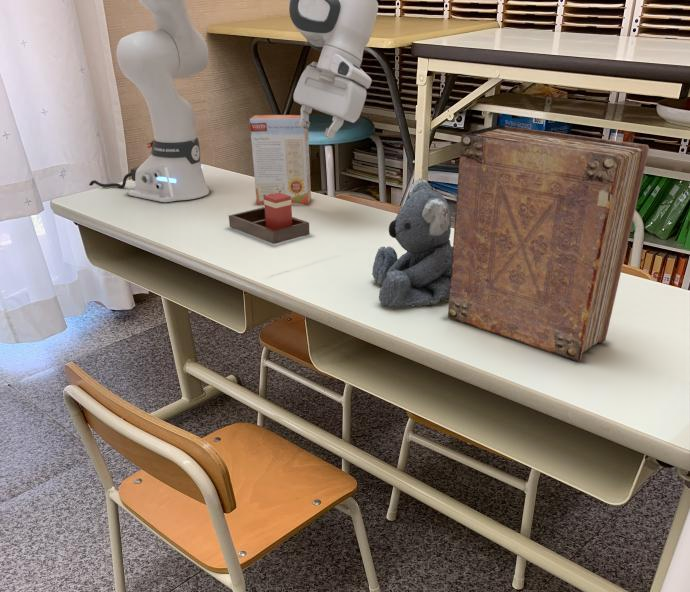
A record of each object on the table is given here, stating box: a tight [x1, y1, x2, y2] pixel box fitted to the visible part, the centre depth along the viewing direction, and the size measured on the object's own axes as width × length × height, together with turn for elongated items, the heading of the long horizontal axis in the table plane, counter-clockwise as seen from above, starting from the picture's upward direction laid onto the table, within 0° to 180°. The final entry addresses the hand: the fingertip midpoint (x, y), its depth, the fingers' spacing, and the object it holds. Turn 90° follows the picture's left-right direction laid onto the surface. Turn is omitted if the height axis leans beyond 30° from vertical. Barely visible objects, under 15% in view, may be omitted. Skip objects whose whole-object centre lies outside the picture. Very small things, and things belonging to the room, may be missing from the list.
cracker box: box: [249, 114, 312, 205], centre depth 179 cm, size 14×6×21 cm, turn 84°
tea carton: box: [263, 193, 293, 230], centre depth 158 cm, size 4×4×8 cm
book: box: [447, 124, 650, 363], centre depth 109 cm, size 25×9×30 cm, turn 47°
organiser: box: [228, 206, 310, 245], centre depth 162 cm, size 18×10×3 cm, turn 42°
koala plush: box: [371, 177, 453, 309], centre depth 126 cm, size 17×18×20 cm
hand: (315, 133), depth 156 cm, fingers open, 8 cm apart
